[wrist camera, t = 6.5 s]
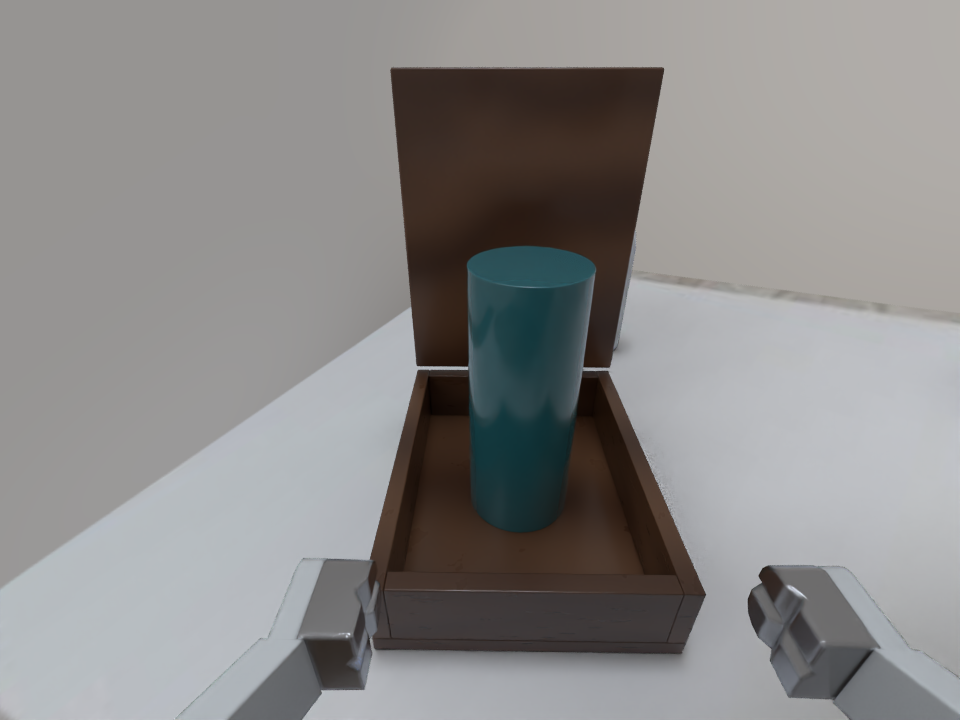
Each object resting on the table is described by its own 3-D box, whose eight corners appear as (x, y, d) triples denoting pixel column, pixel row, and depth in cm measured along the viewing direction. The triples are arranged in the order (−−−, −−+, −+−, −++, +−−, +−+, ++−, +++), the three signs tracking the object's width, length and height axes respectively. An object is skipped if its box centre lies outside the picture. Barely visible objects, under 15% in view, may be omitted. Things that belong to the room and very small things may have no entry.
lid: (665, 67, 21) (635, 68, 25) (389, 67, 21) (406, 68, 25) (610, 368, 29) (595, 331, 34) (416, 366, 30) (425, 330, 34)
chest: (682, 654, 19) (706, 594, 17) (374, 649, 19) (361, 590, 17) (600, 419, 32) (608, 370, 30) (421, 417, 32) (417, 369, 30)
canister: (578, 480, 26) (612, 256, 19) (542, 549, 22) (569, 297, 15) (497, 450, 28) (503, 239, 21) (451, 507, 24) (441, 271, 18)
